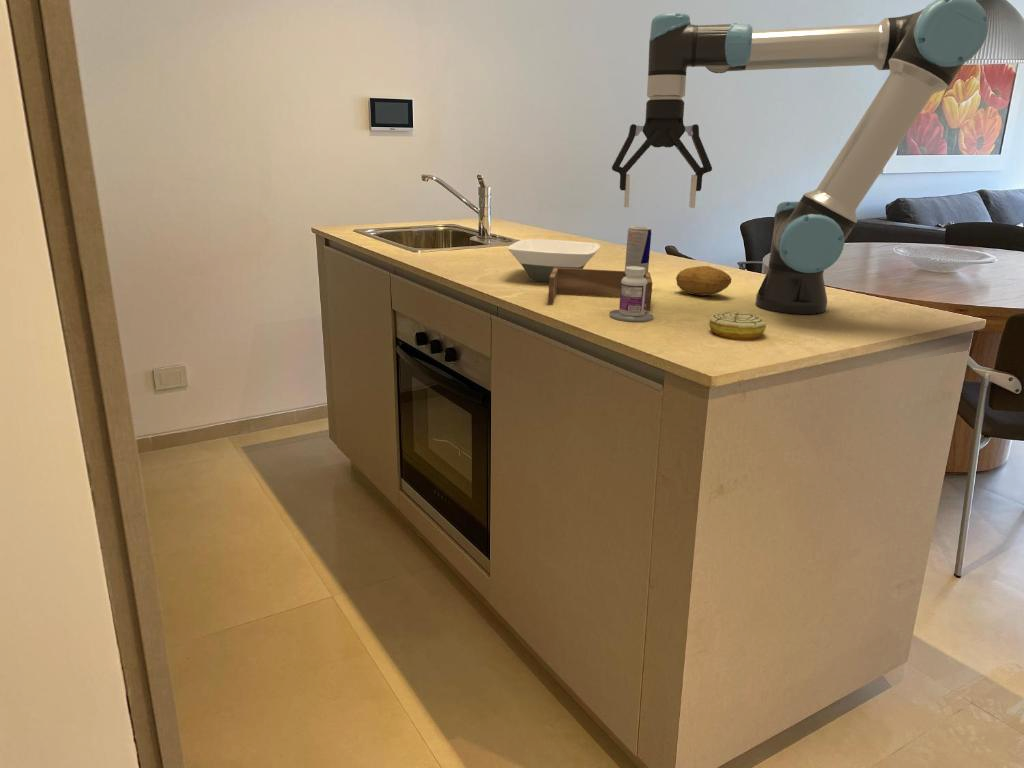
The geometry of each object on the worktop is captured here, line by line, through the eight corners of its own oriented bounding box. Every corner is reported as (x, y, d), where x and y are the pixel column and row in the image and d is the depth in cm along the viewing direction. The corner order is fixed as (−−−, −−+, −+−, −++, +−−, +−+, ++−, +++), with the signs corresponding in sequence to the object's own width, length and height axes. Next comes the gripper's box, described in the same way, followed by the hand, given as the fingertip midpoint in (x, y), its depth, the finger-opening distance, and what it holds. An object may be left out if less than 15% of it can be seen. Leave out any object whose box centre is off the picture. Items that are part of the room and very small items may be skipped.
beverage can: (646, 291, 186) (651, 228, 181) (622, 290, 187) (627, 227, 182) (646, 287, 191) (652, 226, 186) (624, 286, 192) (628, 225, 187)
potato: (691, 288, 192) (694, 261, 190) (736, 297, 183) (739, 268, 180) (668, 292, 186) (671, 264, 184) (713, 302, 177) (716, 272, 175)
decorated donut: (766, 331, 152) (769, 313, 150) (762, 344, 142) (765, 324, 141) (712, 325, 155) (714, 307, 154) (704, 337, 146) (707, 317, 144)
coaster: (662, 318, 159) (662, 315, 159) (634, 324, 153) (634, 321, 153) (628, 310, 165) (628, 307, 165) (600, 315, 159) (600, 312, 159)
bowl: (501, 283, 190) (502, 248, 188) (522, 268, 212) (523, 237, 209) (589, 290, 186) (591, 255, 183) (601, 274, 207) (604, 243, 204)
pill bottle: (627, 310, 163) (631, 264, 160) (649, 314, 159) (653, 267, 156) (613, 314, 159) (617, 267, 156) (636, 318, 155) (640, 270, 152)
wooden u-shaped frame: (552, 292, 181) (553, 267, 179) (647, 298, 178) (649, 272, 176) (547, 304, 168) (549, 277, 166) (649, 310, 165) (652, 283, 164)
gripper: (725, 100, 157) (716, 206, 164) (602, 99, 159) (598, 205, 166) (732, 98, 150) (722, 209, 157) (603, 98, 152) (599, 208, 158)
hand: (659, 207), depth 161 cm, fingers open, 13 cm apart
